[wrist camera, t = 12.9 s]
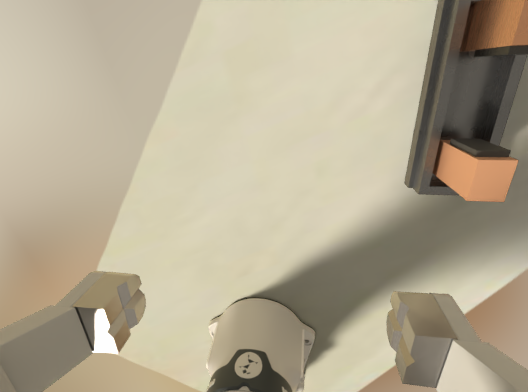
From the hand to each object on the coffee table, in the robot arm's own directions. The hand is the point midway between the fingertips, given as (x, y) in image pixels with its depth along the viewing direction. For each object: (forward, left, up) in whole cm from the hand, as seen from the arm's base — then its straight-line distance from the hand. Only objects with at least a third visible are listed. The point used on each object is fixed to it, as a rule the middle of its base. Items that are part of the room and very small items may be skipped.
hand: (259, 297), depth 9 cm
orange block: (-3, -18, -28) cm, 33 cm away
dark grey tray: (+3, -18, -29) cm, 35 cm away
